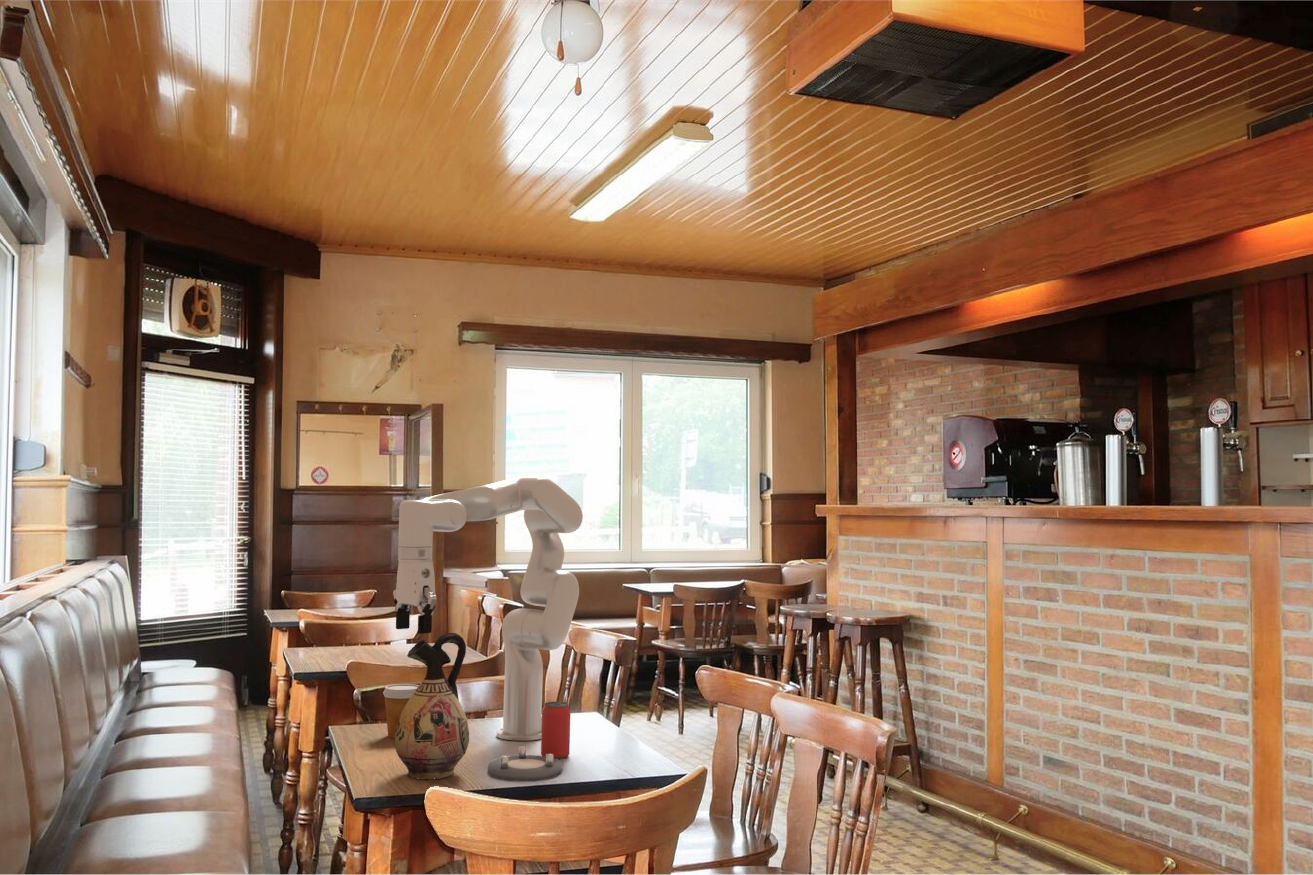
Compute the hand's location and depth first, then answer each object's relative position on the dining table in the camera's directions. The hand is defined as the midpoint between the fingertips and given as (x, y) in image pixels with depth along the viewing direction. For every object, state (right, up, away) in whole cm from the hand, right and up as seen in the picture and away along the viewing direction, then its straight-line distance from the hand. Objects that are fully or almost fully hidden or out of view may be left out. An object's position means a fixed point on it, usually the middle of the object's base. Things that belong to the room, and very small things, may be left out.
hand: (413, 630), depth 231 cm
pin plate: (+26, -29, -8) cm, 40 cm away
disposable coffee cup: (-9, -31, +24) cm, 40 cm away
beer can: (+31, -30, +6) cm, 44 cm away
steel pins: (+25, -27, -9) cm, 38 cm away
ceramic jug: (+8, -28, -13) cm, 32 cm away
